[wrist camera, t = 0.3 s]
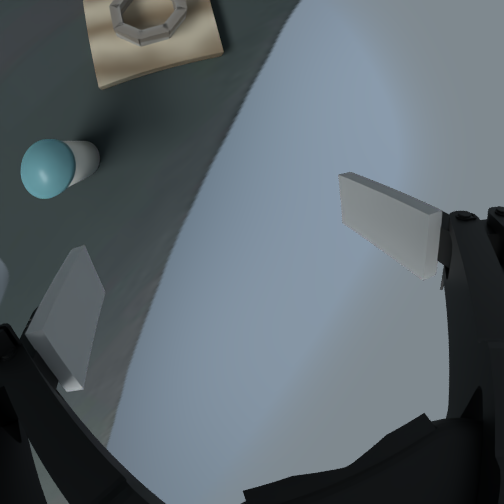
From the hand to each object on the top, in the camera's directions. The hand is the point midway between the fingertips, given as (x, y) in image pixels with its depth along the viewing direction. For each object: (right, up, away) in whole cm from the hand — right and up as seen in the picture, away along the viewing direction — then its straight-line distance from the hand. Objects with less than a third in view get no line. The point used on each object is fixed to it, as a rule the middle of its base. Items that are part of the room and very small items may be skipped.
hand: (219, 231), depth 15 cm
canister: (-20, +11, +20) cm, 30 cm away
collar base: (-12, +29, +15) cm, 35 cm away
